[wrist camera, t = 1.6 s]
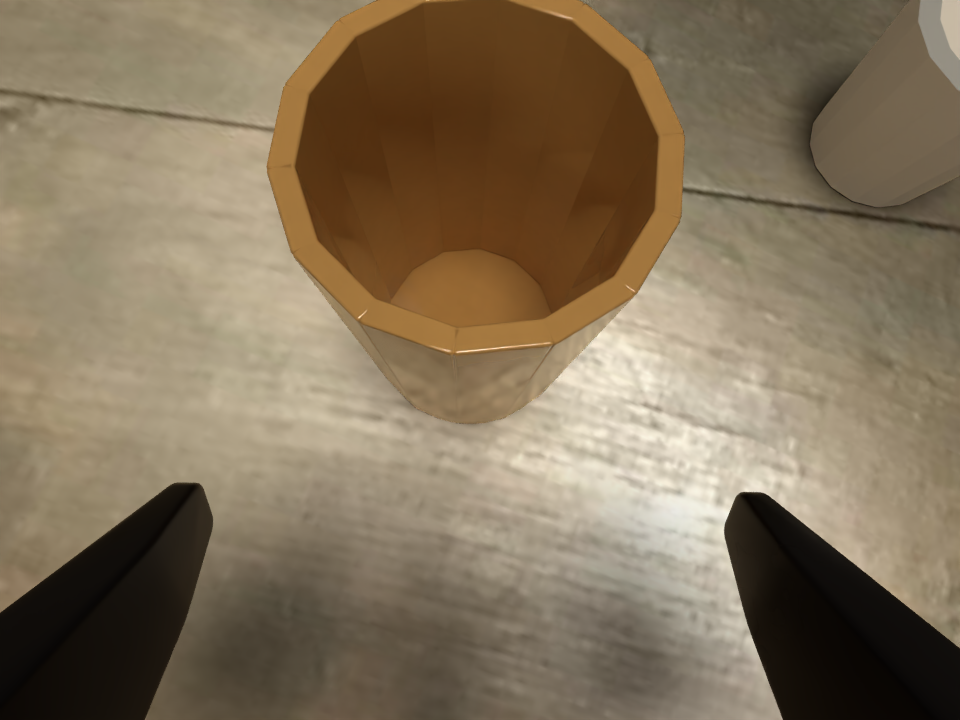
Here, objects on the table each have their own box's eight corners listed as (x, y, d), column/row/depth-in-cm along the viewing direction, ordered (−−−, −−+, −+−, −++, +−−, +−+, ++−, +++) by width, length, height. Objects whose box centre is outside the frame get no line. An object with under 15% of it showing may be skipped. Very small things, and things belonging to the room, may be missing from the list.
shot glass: (770, 104, 25) (884, -34, 19) (904, 64, 26) (1062, -83, 19) (837, 240, 24) (985, 146, 17) (976, 195, 25) (1172, 87, 18)
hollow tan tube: (529, 451, 22) (622, 415, 9) (347, 386, 22) (195, 265, 10) (585, 281, 23) (732, 48, 11) (414, 222, 24) (359, -73, 11)
